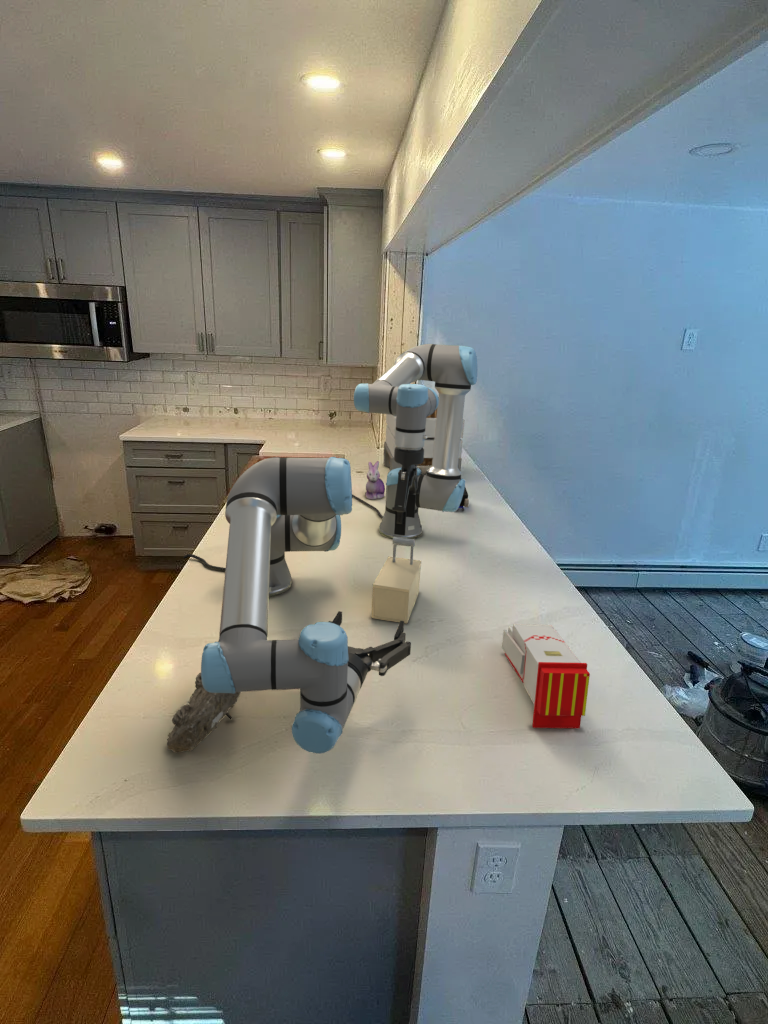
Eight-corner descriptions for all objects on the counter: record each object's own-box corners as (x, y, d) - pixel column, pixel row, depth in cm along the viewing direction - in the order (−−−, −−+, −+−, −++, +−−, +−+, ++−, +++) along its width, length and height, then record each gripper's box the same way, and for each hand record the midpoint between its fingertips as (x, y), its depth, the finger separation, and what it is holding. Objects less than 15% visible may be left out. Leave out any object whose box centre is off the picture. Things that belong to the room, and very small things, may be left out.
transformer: (382, 463, 289) (386, 382, 275) (445, 464, 293) (451, 384, 279) (390, 482, 257) (394, 392, 243) (460, 483, 261) (468, 394, 247)
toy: (548, 608, 134) (599, 669, 104) (543, 661, 136) (591, 735, 107) (497, 607, 133) (533, 668, 104) (493, 660, 136) (527, 734, 107)
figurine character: (468, 516, 224) (463, 500, 237) (471, 498, 221) (465, 483, 234) (452, 515, 224) (447, 499, 237) (453, 498, 220) (449, 482, 234)
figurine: (370, 501, 232) (371, 465, 226) (359, 493, 240) (360, 459, 235) (390, 498, 236) (392, 463, 231) (379, 491, 244) (380, 457, 239)
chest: (386, 588, 161) (387, 559, 158) (418, 592, 159) (420, 564, 156) (371, 618, 145) (372, 587, 142) (407, 623, 143) (409, 592, 140)
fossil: (192, 660, 117) (244, 628, 112) (224, 691, 120) (276, 661, 115) (142, 746, 98) (202, 712, 93) (182, 779, 101) (242, 748, 96)
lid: (388, 558, 159) (389, 531, 156) (421, 563, 157) (423, 536, 154) (372, 587, 142) (373, 557, 139) (409, 592, 140) (411, 562, 137)
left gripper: (276, 685, 105) (315, 628, 125) (408, 710, 100) (427, 646, 120) (275, 650, 103) (315, 597, 122) (411, 674, 98) (429, 614, 117)
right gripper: (415, 460, 131) (410, 544, 138) (431, 438, 154) (426, 511, 161) (383, 457, 133) (380, 540, 140) (404, 435, 156) (400, 508, 163)
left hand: (370, 621), depth 121 cm, fingers open, 13 cm apart
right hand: (404, 525), depth 151 cm, fingers open, 13 cm apart
